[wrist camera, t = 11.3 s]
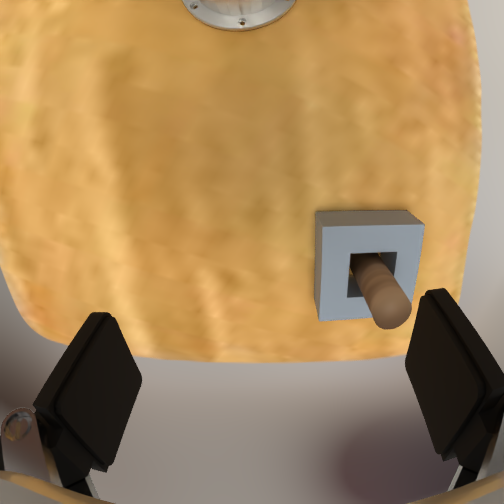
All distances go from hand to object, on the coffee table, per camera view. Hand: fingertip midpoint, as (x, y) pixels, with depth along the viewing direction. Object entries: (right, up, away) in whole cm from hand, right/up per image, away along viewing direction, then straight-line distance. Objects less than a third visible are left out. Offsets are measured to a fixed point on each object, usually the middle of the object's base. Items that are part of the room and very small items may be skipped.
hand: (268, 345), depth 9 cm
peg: (+12, +2, +27) cm, 30 cm away
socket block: (+12, +2, +27) cm, 30 cm away
